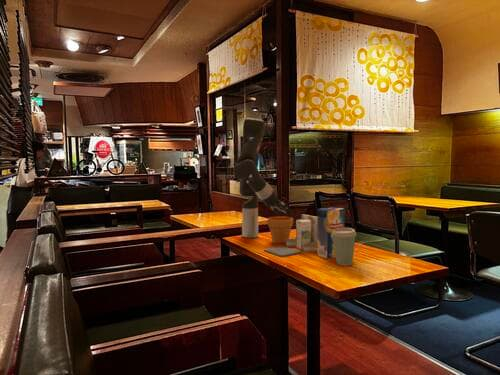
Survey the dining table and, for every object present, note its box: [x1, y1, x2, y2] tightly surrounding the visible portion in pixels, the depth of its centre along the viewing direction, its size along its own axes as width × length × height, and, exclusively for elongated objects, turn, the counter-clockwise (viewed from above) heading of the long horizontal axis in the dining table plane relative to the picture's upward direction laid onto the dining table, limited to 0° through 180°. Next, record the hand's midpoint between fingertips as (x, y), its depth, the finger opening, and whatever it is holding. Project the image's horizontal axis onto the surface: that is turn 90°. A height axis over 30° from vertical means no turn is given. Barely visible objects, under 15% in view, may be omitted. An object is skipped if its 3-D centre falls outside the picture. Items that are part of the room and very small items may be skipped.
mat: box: [263, 245, 302, 258], centre depth 174 cm, size 14×12×1 cm
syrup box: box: [295, 219, 311, 250], centre depth 182 cm, size 6×6×14 cm
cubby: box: [285, 213, 318, 253], centre depth 182 cm, size 14×12×16 cm
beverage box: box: [316, 206, 346, 259], centre depth 167 cm, size 7×11×22 cm, turn 122°
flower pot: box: [266, 216, 294, 244], centre depth 198 cm, size 14×14×13 cm
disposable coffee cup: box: [331, 227, 357, 267], centre depth 153 cm, size 11×11×15 cm
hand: (285, 215), depth 174 cm, fingers open, 8 cm apart
